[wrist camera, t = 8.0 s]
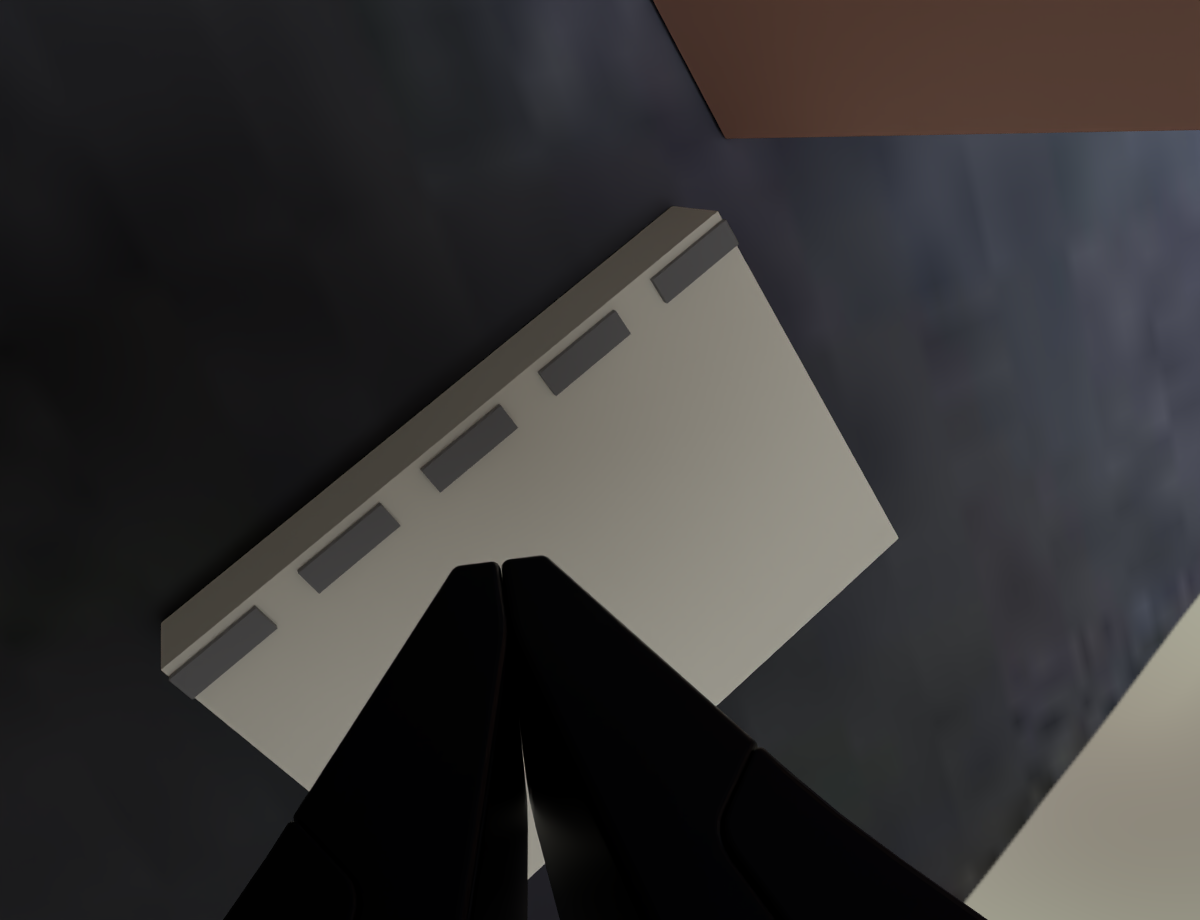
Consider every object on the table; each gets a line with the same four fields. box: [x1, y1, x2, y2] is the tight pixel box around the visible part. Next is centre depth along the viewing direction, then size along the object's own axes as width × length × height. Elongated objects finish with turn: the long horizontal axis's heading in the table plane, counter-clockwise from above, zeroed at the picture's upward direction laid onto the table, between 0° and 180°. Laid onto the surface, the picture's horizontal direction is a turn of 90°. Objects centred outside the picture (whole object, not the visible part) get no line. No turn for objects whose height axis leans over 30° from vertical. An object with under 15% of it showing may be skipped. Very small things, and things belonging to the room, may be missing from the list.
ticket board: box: [161, 206, 898, 879], centre depth 22 cm, size 14×10×2 cm
